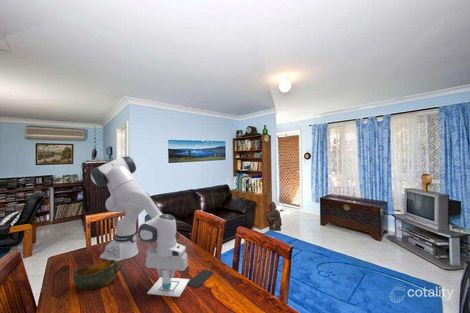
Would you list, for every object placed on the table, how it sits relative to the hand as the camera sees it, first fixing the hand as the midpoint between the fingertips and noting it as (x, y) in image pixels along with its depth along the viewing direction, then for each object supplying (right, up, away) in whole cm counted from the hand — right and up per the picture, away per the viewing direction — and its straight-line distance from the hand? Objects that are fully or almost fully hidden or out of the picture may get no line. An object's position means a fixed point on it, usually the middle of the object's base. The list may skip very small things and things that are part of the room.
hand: (166, 277), depth 97 cm
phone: (+15, -7, +9) cm, 19 cm away
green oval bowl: (-37, -7, +5) cm, 37 cm away
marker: (0, -5, 0) cm, 5 cm away
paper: (0, -6, +3) cm, 7 cm away
